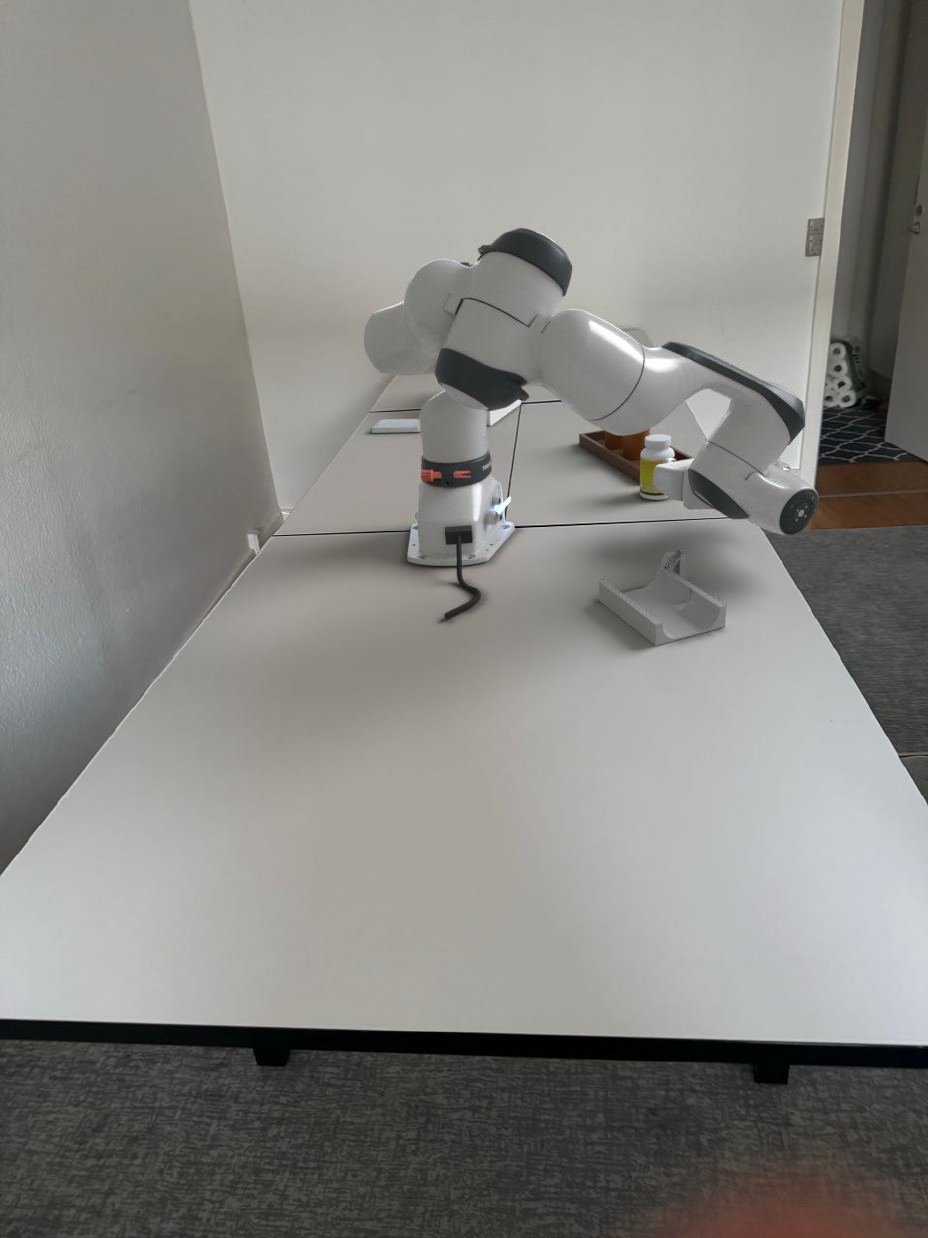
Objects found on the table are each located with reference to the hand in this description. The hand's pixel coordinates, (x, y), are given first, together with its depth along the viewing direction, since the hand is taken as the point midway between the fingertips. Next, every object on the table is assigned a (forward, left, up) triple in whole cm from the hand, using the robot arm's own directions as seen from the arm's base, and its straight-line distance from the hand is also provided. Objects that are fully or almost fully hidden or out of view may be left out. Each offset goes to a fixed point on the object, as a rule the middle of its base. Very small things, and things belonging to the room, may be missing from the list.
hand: (692, 458), depth 141 cm
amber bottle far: (+42, +14, -10) cm, 45 cm away
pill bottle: (+11, +6, -11) cm, 16 cm away
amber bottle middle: (+34, +10, -10) cm, 37 cm away
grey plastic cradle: (-36, +5, -11) cm, 38 cm away
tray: (+34, +10, -10) cm, 37 cm away
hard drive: (+64, +70, -11) cm, 95 cm away
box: (+83, +51, -11) cm, 98 cm away
